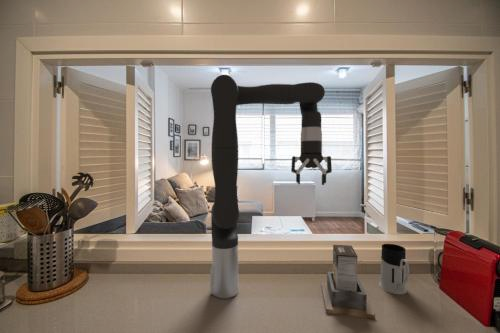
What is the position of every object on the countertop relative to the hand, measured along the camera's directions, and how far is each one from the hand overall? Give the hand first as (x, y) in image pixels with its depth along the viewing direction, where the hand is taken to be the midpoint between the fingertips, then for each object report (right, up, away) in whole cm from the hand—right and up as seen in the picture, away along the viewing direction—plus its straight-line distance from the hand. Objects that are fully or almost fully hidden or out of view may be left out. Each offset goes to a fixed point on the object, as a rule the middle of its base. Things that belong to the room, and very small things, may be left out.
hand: (310, 184), depth 87 cm
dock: (+9, -38, -8) cm, 40 cm away
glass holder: (+30, -38, -3) cm, 49 cm away
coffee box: (+9, -37, -7) cm, 39 cm away
